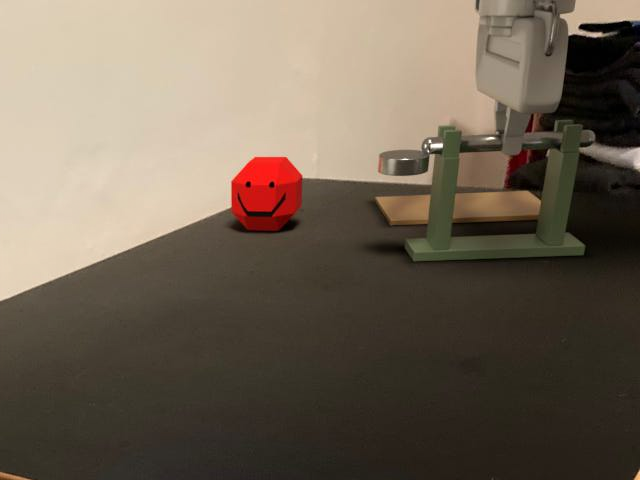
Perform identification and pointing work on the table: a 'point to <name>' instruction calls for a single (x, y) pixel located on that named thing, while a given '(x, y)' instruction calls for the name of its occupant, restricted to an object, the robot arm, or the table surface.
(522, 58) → the robot arm
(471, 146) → the ladle
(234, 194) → the ball
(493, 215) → the brown wooden board
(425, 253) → the rack
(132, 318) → the table surface
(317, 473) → the table surface
